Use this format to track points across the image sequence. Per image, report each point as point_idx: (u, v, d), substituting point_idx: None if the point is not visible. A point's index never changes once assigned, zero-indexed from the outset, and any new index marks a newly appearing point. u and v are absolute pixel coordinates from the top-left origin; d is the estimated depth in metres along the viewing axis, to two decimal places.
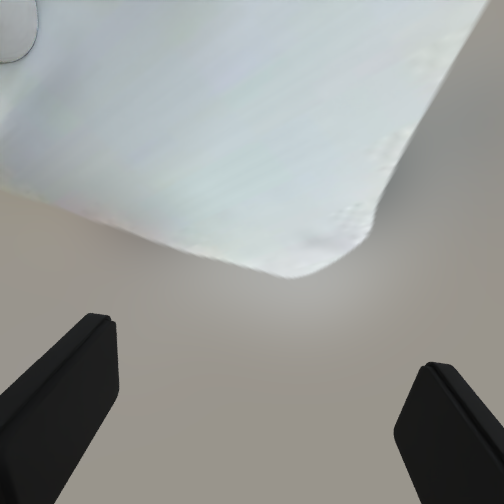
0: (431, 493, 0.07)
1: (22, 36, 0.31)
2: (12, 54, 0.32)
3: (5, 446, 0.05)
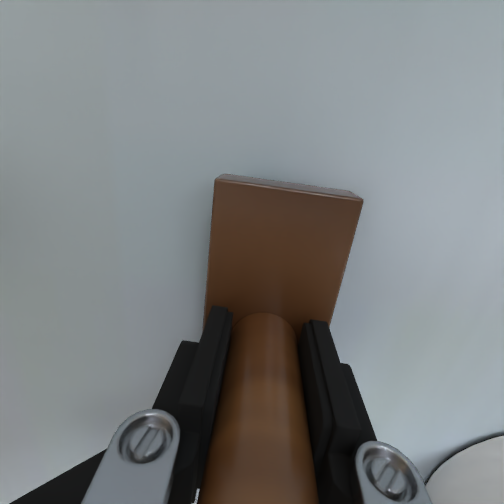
0: None
1: None
2: None
3: (210, 408, 0.06)
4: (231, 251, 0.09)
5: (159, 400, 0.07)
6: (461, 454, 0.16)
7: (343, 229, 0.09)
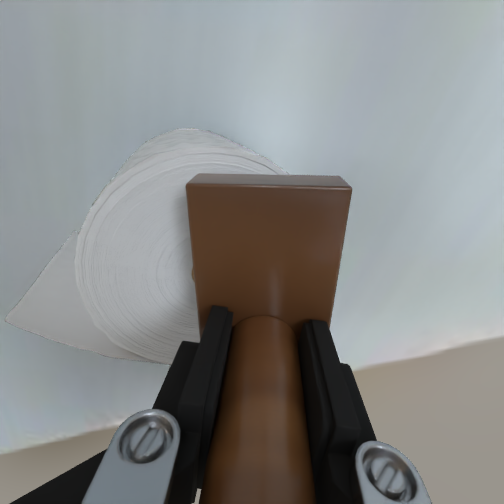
0: None
1: None
2: None
3: (210, 408, 0.06)
4: (215, 258, 0.09)
5: (159, 400, 0.07)
6: None
7: (333, 222, 0.08)
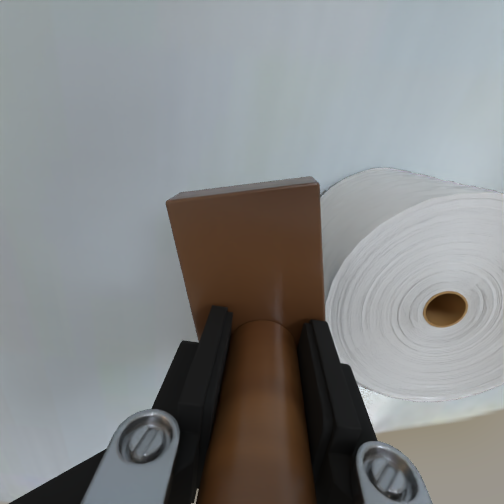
0: None
1: None
2: None
3: (210, 408, 0.06)
4: (203, 268, 0.09)
5: (159, 400, 0.07)
6: (323, 197, 0.21)
7: (307, 218, 0.08)
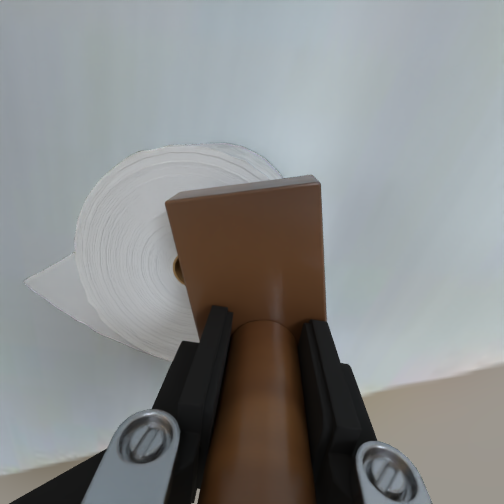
0: None
1: None
2: None
3: (210, 408, 0.06)
4: (203, 268, 0.09)
5: (159, 400, 0.07)
6: None
7: (308, 218, 0.08)
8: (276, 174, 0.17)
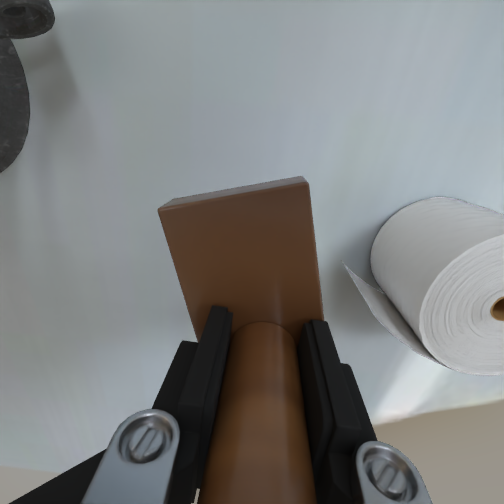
0: None
1: None
2: None
3: (210, 408, 0.06)
4: (198, 272, 0.09)
5: (159, 400, 0.07)
6: (391, 218, 0.26)
7: (298, 218, 0.08)
8: None
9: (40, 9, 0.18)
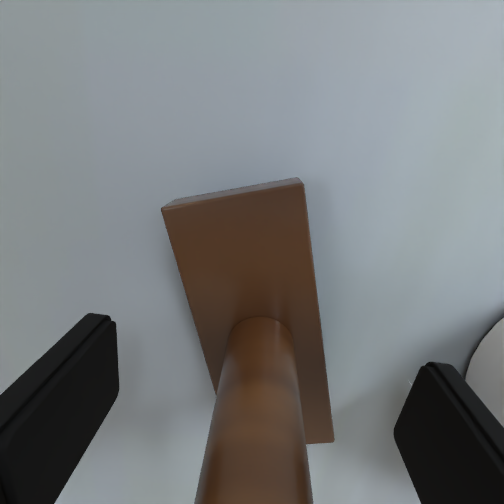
0: (431, 493, 0.07)
1: None
2: None
3: (5, 446, 0.05)
4: (199, 269, 0.10)
5: None
6: None
7: (294, 217, 0.09)
8: None
9: None
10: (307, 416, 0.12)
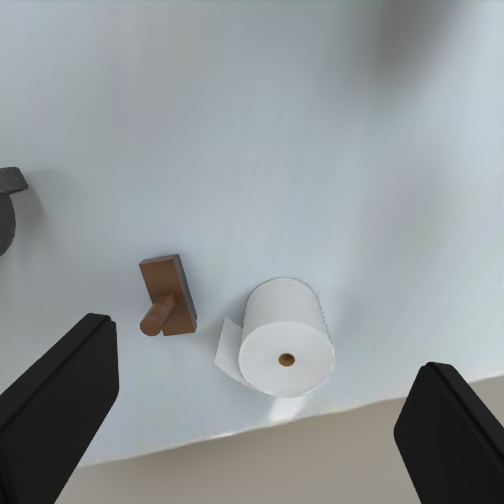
0: (431, 493, 0.07)
1: None
2: None
3: (5, 446, 0.05)
4: (149, 279, 0.37)
5: None
6: (254, 290, 0.39)
7: (171, 266, 0.36)
8: (316, 305, 0.35)
9: (18, 189, 0.31)
10: (184, 323, 0.39)
